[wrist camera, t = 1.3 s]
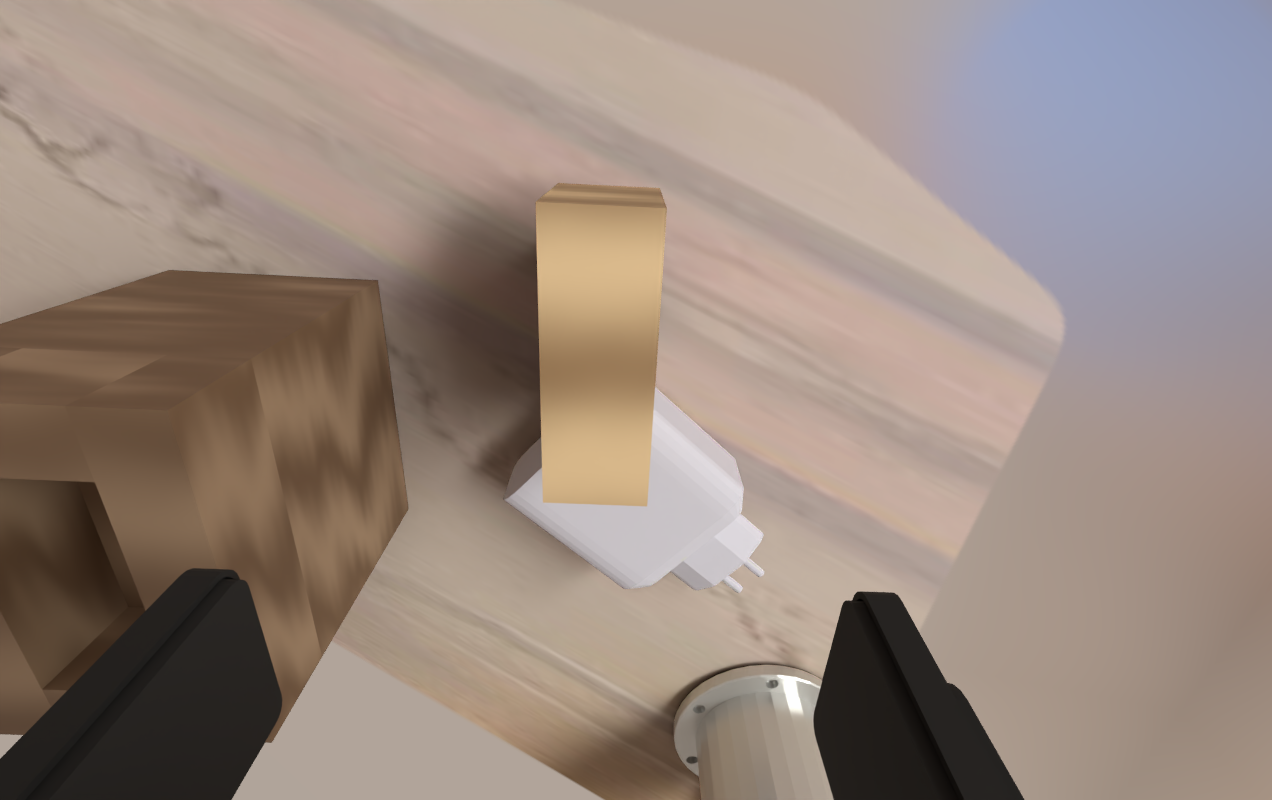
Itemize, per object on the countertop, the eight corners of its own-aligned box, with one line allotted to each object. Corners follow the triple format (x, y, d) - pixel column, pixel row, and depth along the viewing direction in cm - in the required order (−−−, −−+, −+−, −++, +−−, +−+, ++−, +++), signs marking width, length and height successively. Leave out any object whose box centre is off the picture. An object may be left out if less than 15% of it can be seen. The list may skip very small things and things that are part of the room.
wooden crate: (408, 508, 36) (272, 742, 23) (234, 501, 36) (-10, 734, 22) (377, 280, 30) (166, 410, 17) (169, 270, 30) (-218, 393, 16)
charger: (691, 595, 39) (515, 459, 35) (800, 512, 37) (624, 352, 32) (699, 653, 35) (499, 506, 31) (822, 564, 32) (622, 388, 28)
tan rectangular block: (643, 389, 33) (647, 506, 23) (570, 386, 33) (542, 502, 23) (655, 177, 28) (666, 207, 18) (570, 173, 28) (535, 201, 18)
